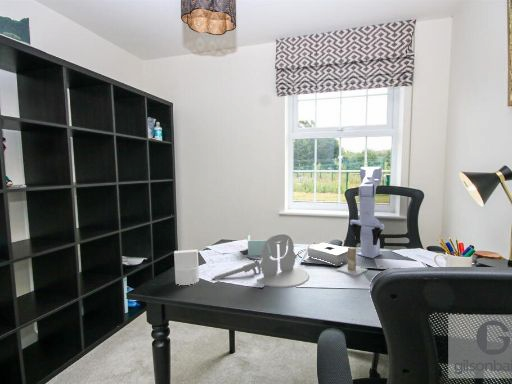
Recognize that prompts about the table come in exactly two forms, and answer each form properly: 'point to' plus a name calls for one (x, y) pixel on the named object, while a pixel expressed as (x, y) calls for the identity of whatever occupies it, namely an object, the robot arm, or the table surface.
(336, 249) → the guard box
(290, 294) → the table surface
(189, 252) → the white rounded upright block
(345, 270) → the pad
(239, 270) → the caliper
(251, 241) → the l-shaped corner panel
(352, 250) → the long tan rectangular block
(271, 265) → the ornament
